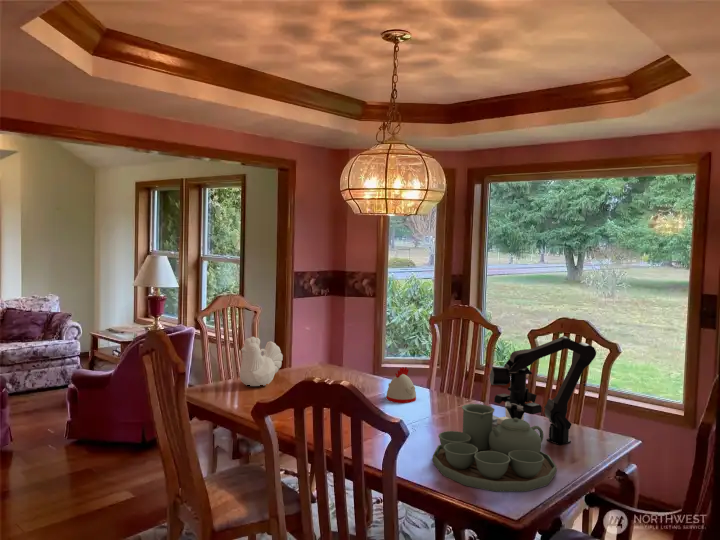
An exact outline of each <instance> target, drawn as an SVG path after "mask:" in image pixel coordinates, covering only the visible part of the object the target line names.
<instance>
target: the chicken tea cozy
mask: <svg viewBox="0 0 720 540" xmlns="http://www.w3.org/2000/svg"><path fill="white" fill-rule="evenodd" d="M409 372H410V370H409V368H407V366H402V367H399V370H397V372H396V373H395V376H394V377H393V378H392V380H391V381H390V382H389V383H388V388H387V391H386V398H387V399H388V400H387V399H386V398H385V399H386V400H387V401H389V402H391V401H392V403H399V404H408V403H413V402H414V403H415V402H416V401H417V394H416V393H417V392H416V386H415V385H414V383H413V381H412V380H411V378H410V377H409V376H408V374H409Z"/></svg>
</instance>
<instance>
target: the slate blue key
mask: <svg viewBox="0 0 720 540" xmlns="http://www.w3.org/2000/svg"><path fill="white" fill-rule="evenodd" d="M497 418H500V417H499V416H497V415H494V414H493V422H497Z"/></svg>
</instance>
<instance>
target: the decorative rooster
mask: <svg viewBox="0 0 720 540" xmlns="http://www.w3.org/2000/svg"><path fill="white" fill-rule="evenodd" d="M260 344H261V339H260V338H259V337H255V336H251V337H247V338H245V340H244V344H243V345H242V348H241V349H240V350H241V357H242V358H241V359H242V360H241V365H240V367H239V368H240V369H239V379H240V382H242V384H244V385H245V386H247V385H250V386H249V387H261V386H260V385H263V386H267V385H266V384H268V385H269V384H271V382H272V381H273V379H274V377H275V374H276V373H278V372H279V369H280V368H282V364H283V363H282V361H283V357H284V355H283V353H282V351H281V348H280V346H279V345H277V344H276V342H273V341H271V340H270V341H267V342H266V345H265V347H264V348H260ZM262 352H263V353H262Z"/></svg>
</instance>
